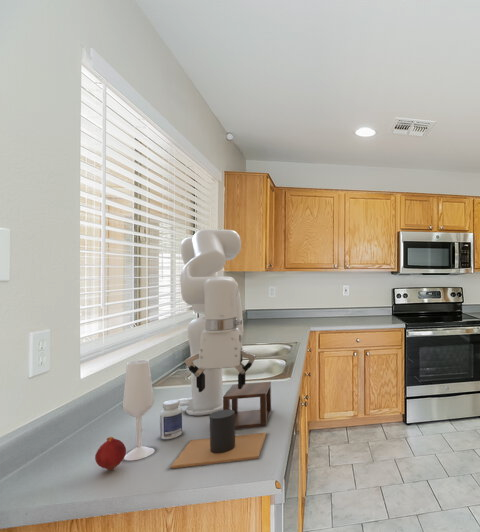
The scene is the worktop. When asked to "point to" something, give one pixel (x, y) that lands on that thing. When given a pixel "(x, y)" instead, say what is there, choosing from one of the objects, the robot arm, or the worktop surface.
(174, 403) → the pill bottle
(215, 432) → the dark grey cylinder
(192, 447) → the mat
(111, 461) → the onion
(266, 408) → the wooden frame
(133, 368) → the champagne flute
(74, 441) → the worktop surface
